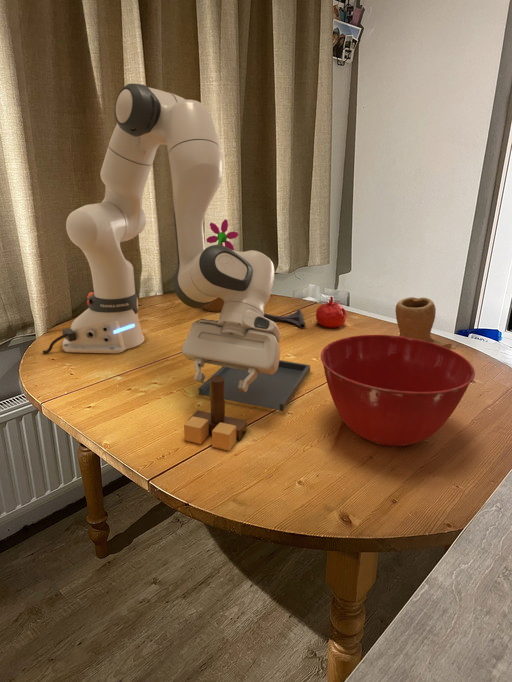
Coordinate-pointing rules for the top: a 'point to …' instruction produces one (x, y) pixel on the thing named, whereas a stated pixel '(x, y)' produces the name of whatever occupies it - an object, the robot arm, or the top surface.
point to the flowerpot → (221, 238)
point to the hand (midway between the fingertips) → (219, 386)
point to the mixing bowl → (394, 386)
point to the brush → (220, 409)
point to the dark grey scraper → (288, 318)
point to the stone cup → (417, 319)
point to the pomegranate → (331, 314)
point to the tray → (262, 385)
